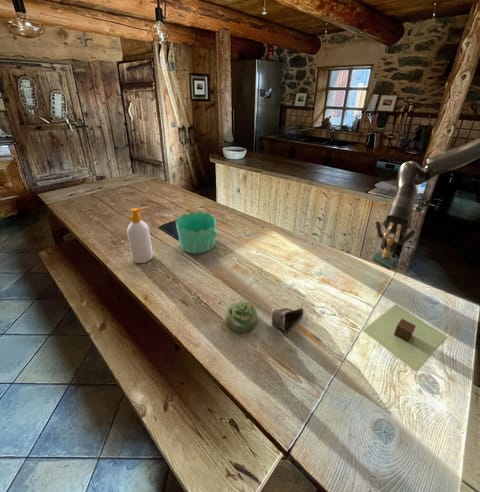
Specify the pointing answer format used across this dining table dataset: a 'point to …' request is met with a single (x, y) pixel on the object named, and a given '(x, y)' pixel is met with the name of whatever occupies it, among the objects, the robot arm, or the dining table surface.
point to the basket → (196, 232)
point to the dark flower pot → (286, 318)
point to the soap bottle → (139, 238)
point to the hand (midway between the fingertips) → (387, 250)
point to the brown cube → (404, 330)
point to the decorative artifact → (241, 316)
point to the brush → (386, 256)
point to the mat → (408, 352)
